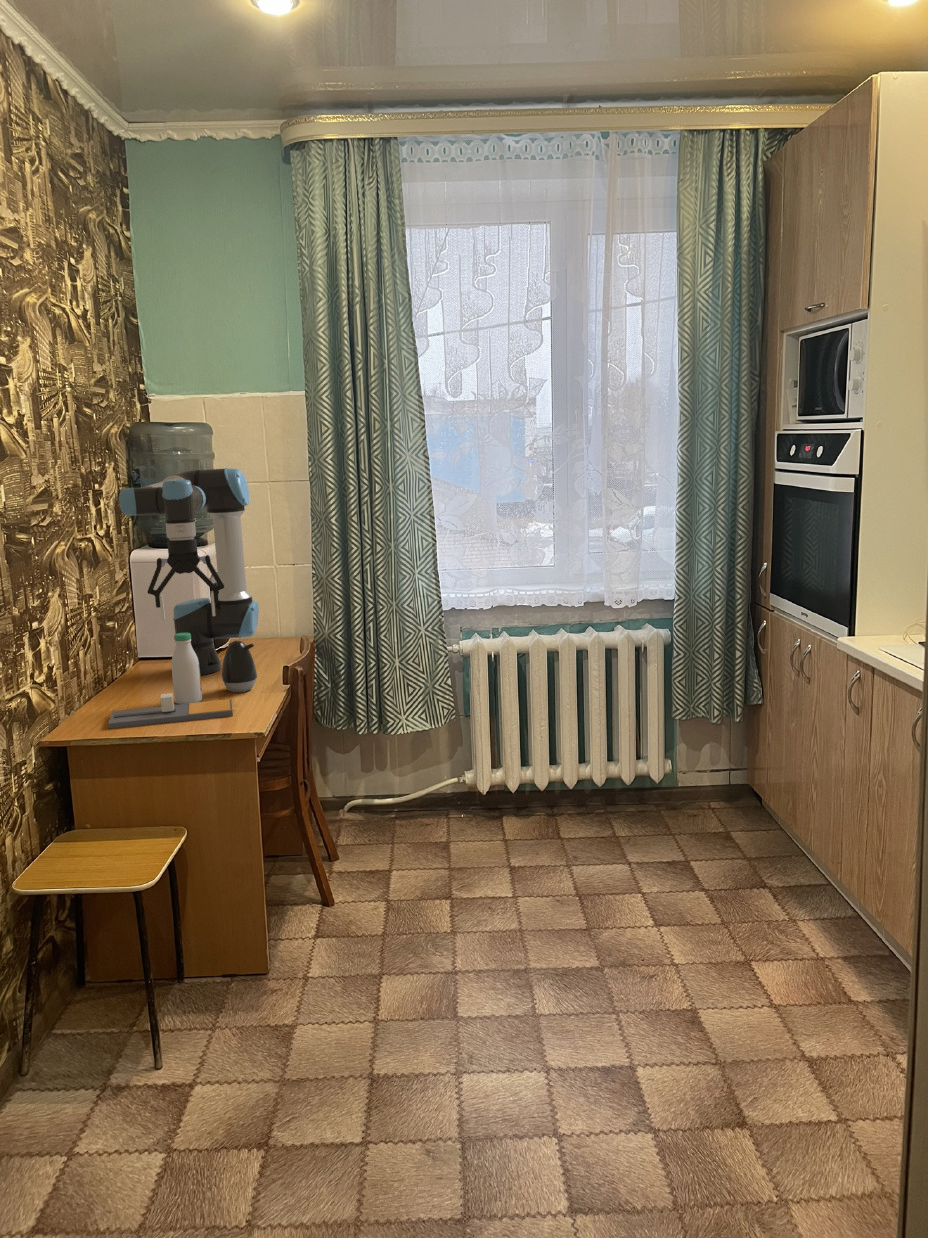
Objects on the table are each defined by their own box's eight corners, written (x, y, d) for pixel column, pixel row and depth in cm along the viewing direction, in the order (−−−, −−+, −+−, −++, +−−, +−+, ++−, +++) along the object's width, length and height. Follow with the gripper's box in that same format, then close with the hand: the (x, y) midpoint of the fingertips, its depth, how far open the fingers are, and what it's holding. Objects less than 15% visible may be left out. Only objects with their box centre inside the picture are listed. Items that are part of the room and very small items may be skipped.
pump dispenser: (250, 695, 285) (246, 644, 282) (217, 694, 287) (212, 644, 284) (264, 686, 294) (260, 637, 291) (232, 685, 296) (228, 636, 293)
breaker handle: (162, 708, 267) (161, 694, 266) (174, 707, 268) (172, 693, 267) (162, 712, 263) (160, 697, 262) (173, 710, 264) (172, 696, 263)
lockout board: (113, 716, 268) (112, 710, 268) (231, 704, 275) (231, 698, 275) (108, 728, 256) (108, 722, 256) (232, 715, 264) (232, 709, 264)
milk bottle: (201, 704, 277) (194, 635, 273) (173, 706, 276) (166, 637, 272) (203, 696, 285) (197, 630, 281) (176, 699, 283) (170, 632, 280)
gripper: (132, 542, 252) (140, 623, 256) (229, 536, 258) (235, 615, 262) (134, 540, 259) (142, 618, 263) (228, 534, 265) (235, 611, 269)
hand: (188, 617), depth 263 cm, fingers open, 12 cm apart
